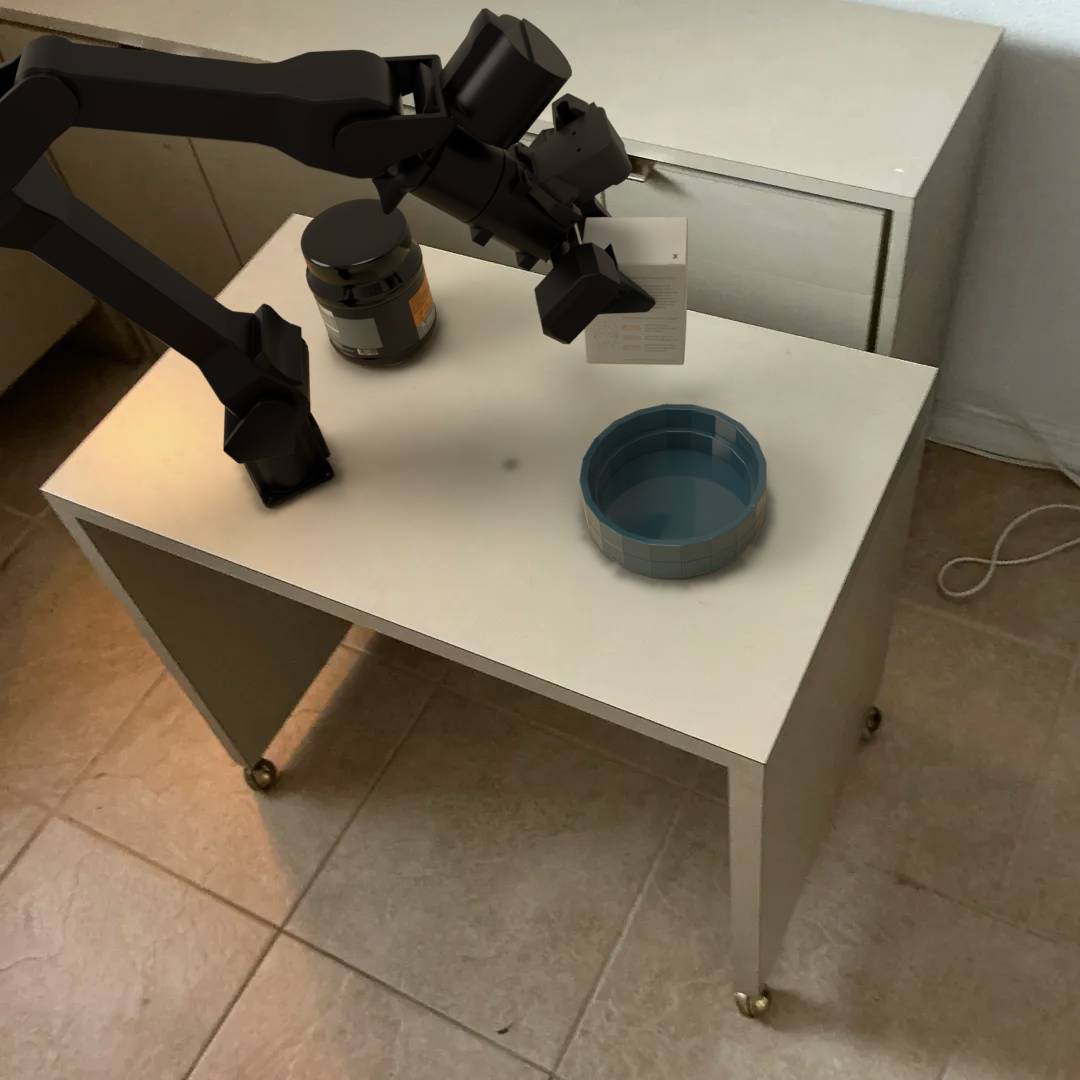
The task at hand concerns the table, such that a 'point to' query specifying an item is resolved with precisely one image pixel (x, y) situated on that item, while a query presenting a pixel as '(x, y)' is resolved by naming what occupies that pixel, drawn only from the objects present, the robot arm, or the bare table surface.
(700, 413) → the bowl
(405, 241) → the supplement container
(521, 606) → the table surface
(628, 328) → the small box
